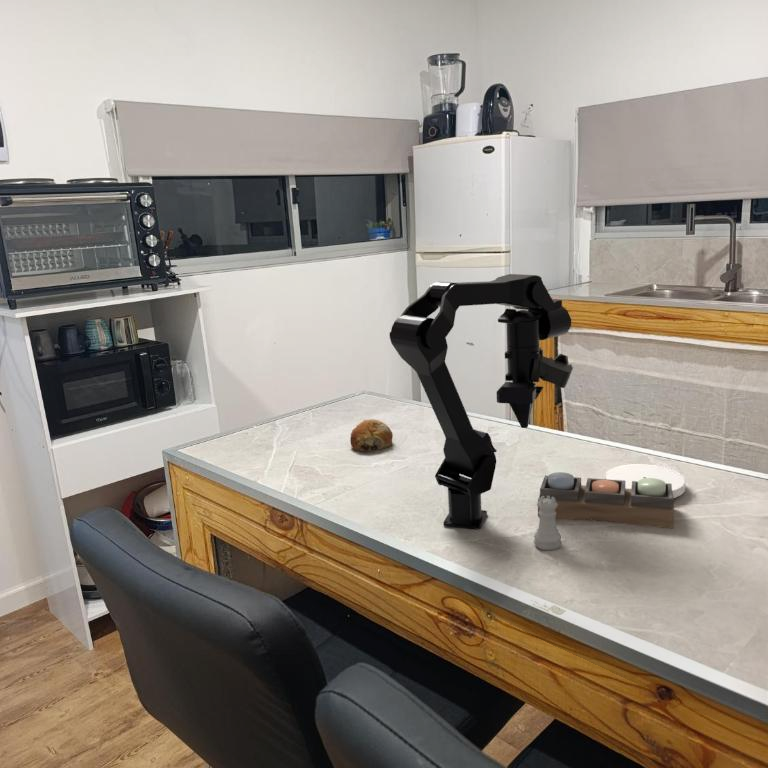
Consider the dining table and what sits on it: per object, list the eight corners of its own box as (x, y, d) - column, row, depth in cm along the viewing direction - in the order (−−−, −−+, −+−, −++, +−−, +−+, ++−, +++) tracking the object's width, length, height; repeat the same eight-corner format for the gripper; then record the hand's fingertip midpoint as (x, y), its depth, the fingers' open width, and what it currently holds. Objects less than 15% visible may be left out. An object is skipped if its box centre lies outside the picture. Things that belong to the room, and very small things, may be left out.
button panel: (673, 528, 116) (674, 501, 115) (537, 516, 123) (537, 490, 122) (672, 507, 123) (673, 482, 122) (544, 497, 131) (543, 473, 130)
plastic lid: (666, 513, 122) (667, 499, 121) (591, 494, 131) (591, 482, 131) (696, 486, 132) (697, 473, 131) (624, 470, 141) (624, 458, 140)
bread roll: (397, 458, 167) (403, 424, 168) (375, 453, 158) (381, 418, 159) (363, 452, 172) (368, 420, 173) (339, 448, 163) (345, 413, 164)
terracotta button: (618, 501, 120) (618, 490, 119) (591, 499, 121) (591, 488, 121) (619, 491, 124) (619, 480, 123) (592, 489, 125) (593, 479, 125)
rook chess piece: (556, 553, 110) (556, 506, 108) (529, 548, 113) (528, 501, 111) (565, 541, 114) (565, 495, 112) (539, 536, 116) (538, 491, 114)
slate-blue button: (572, 493, 122) (572, 482, 122) (546, 491, 124) (546, 480, 123) (574, 483, 126) (574, 473, 126) (549, 481, 128) (549, 471, 127)
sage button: (665, 500, 117) (666, 489, 116) (637, 498, 118) (637, 487, 118) (665, 489, 121) (665, 479, 120) (637, 488, 122) (638, 477, 122)
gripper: (562, 357, 115) (562, 447, 119) (575, 334, 132) (575, 414, 136) (494, 356, 119) (497, 443, 123) (516, 334, 136) (517, 412, 140)
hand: (524, 427), depth 130 cm, fingers closed
